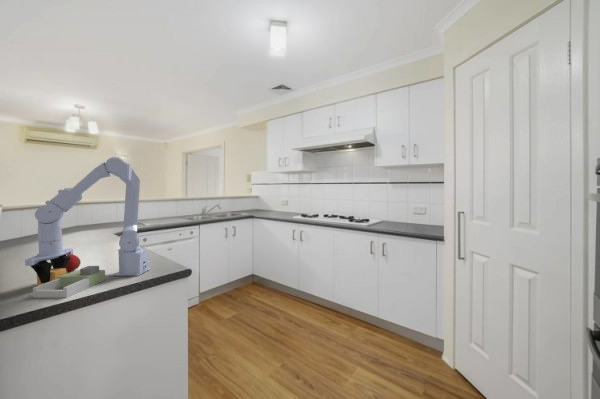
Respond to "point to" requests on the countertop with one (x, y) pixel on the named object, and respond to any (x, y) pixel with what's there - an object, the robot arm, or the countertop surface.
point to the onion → (72, 263)
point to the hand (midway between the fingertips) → (52, 280)
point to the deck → (70, 283)
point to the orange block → (53, 274)
